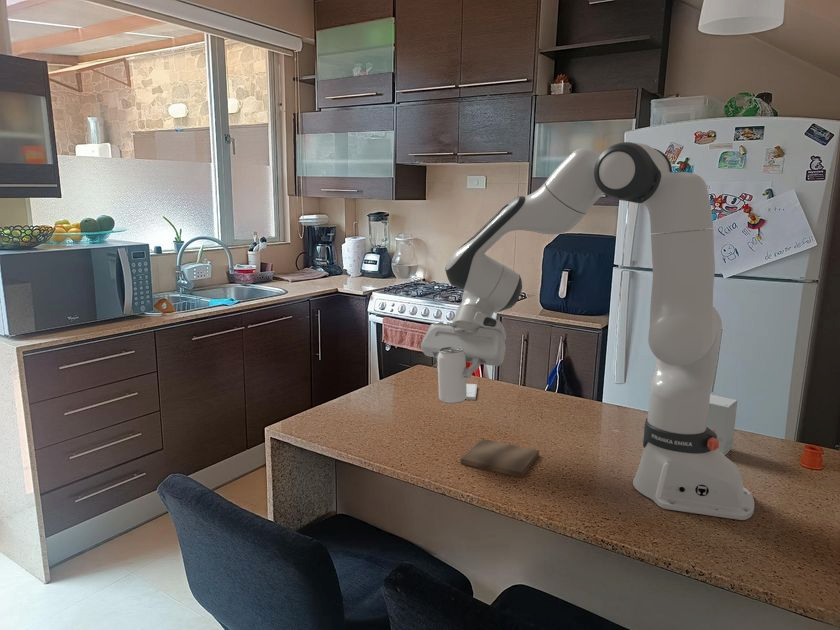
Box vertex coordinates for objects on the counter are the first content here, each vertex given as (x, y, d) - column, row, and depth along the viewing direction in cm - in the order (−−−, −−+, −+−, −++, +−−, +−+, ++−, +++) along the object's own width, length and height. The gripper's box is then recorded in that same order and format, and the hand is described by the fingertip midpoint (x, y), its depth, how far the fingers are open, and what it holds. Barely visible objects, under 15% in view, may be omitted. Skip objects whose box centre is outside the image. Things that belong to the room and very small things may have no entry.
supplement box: (732, 449, 146) (739, 399, 143) (722, 459, 140) (729, 407, 138) (700, 441, 151) (706, 392, 148) (690, 449, 145) (695, 399, 143)
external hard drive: (477, 389, 190) (475, 401, 178) (451, 387, 191) (447, 400, 179) (477, 384, 190) (475, 396, 178) (451, 382, 191) (447, 394, 179)
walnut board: (538, 455, 140) (538, 450, 140) (521, 477, 129) (521, 472, 129) (482, 443, 147) (482, 438, 146) (460, 463, 135) (460, 458, 135)
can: (471, 397, 143) (470, 347, 140) (458, 405, 137) (456, 353, 135) (447, 394, 146) (446, 345, 144) (433, 401, 141) (432, 351, 139)
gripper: (428, 313, 149) (408, 361, 142) (507, 322, 140) (490, 374, 133) (435, 328, 153) (417, 375, 147) (513, 337, 144) (497, 388, 138)
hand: (452, 374), depth 140 cm, fingers closed on can, 5 cm apart
